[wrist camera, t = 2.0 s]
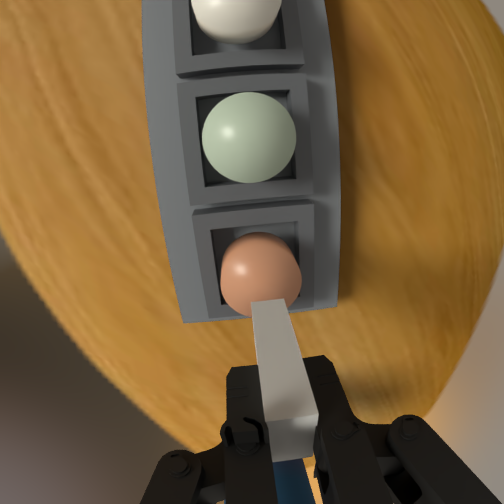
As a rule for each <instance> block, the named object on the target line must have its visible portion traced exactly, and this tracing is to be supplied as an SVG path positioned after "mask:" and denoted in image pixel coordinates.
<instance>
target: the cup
mask: <svg viewBox="0 0 504 504" xmlns="http://www.w3.org/2000/svg"><path fill="white" fill-rule="evenodd" d="M272 463H273V470H274V477H275V484H276V491H277V498H278V504H316V503H315V500H314V496H313V493H312V489H311V486H310V483H309V479H308V476H307V472H306V469H305V465H304V462H303V459H302V458H300V459H293V460H286V461H279V462H272ZM224 504H226V500H224Z"/></svg>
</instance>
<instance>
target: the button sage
mask: <svg viewBox="0 0 504 504" xmlns="http://www.w3.org/2000/svg"><path fill="white" fill-rule="evenodd" d="M202 143H203V149H204V152H205V155H206V157H207V159H208V160H209V162H210V164H211V165H212V166H213V167H214V168H215V169H216V170H217V171H218V172H219V173H220V174H222V175H223V176H225V177H227V178H229V179H231V180H234V181H237V182H242V183H256V182H261V181H265V180H267V179H269V178H272V177H273V176H275V175H277V174H278V173H279V172H280V171H282V170H283V169H284V168H285V166H286V165H287V164H288V163H289V161H290V159H291V157H292V155H293V153H294V150H295V145H296V130H295V125H294V122H293V120H292V118H291V116H290V114H289V113H288V111H287V110H286V109H285V107H284V106H282V105H281V104H280V103H279V102H278V101H276V100H275V99H273V98H271V97H269V96H267V95H264V94H260V93H255V92H244V93H238V94H234V95H232V96H229V97H227V98H225V99H224V100H222V101H221V102H219V103H218V104H217V105H216V106H215V107H214V108H213V109H212V111H211V112H210V113H209V115H208V117H207V118H206V121H205V123H204V127H203V132H202Z"/></svg>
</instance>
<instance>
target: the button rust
mask: <svg viewBox="0 0 504 504" xmlns="http://www.w3.org/2000/svg"><path fill="white" fill-rule="evenodd" d="M301 284H302V277H301V272H300V269H299V266H298V264H297V262H296V260H295V258H294V256H293V254H292V252H291V250H290V248H289V246H288V245H287V244H286V243H285V242H284V241H283V240H282V239H281V238H279V237H278V236H276V235H273V234H271V233H267V232H251V233H248V234H245V235H242V236H240V237H239V238H237V239H236V240H234V241H233V242H232V243H231V244H230V245H229V246H228V248H227V249H226V251H225V253H224V256H223V259H222V268H221V291H222V294H223V297H224V299H225V301H226V302H227V303H228V305H229V306H230V307H231V308H232V309H234V310H235V311H236V312H238V313H240V314H242V315H245V316H248V317H252V309H251V302H256V301H266V300H275V299H283V298H284V300H285V304H286V307H287V308H288V307H289V306H290V305H291V304H292V303H293V302H294V301H295V299H296V298H297V296H298V294H299V292H300V289H301Z"/></svg>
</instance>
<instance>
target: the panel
mask: <svg viewBox="0 0 504 504" xmlns="http://www.w3.org/2000/svg"><path fill="white" fill-rule="evenodd" d="M142 46H143V67H144V83H145V96H146V108H147V118H148V128H149V137H150V146H151V154H152V161H153V169H154V176H155V183H156V189H157V196H158V202H159V208H160V214H161V220H162V225H163V231H164V236H165V242H166V247H167V252H168V257H169V262H170V267H171V272H172V276H173V281H174V285H175V290H176V294H177V299H178V303H179V307H180V311H181V315H182V319H183V323H196V322H209V321H220V320H232V319H242V318H252V317H248V316H245V315H242V314H240V313H238V312H236V311H235V310H234V309H232V308H231V307H230V306H229V305H228V303H227V302H226V301H225V299H224V297H223V294H222V291H221V268H222V259H223V256H224V253H225V251H226V249H227V248H228V246H229V245H230V244H231V243H232V242H233V241H234V240H236V239H237V238H239V237H240V236H242V235H245V234H248V233H251V232H267V233H271V234H273V235H276V236H278V237H279V238H281V239H282V240H283V241H284V242H285V243H286V244H287V245H288V246H289V248H290V250H291V252H292V254H293V256H294V258H295V260H296V262H297V264H298V266H299V269H300V272H301V277H302V284H301V289H300V292H299V294H298V296H297V298H296V299H295V301H294V302H293V303H292V304H291V305H290V306H289V307H288V308H287V310H288V313H295V312H303V311H310V310H317V309H324V308H331V307H337V298H338V282H339V261H340V225H341V184H340V148H339V128H338V112H337V99H336V87H335V77H334V67H333V59H332V50H331V43H330V35H329V28H328V22H327V15H326V9H325V3H324V0H282V2H281V6H280V9H279V11H278V14H277V16H276V18H275V21H274V23H273V25H272V27H271V28H270V30H269V31H268V32H267V33H266V34H265V35H263V36H262V37H260V38H259V39H257V40H255V41H252V42H249V43H245V44H225V43H221V42H218V41H216V40H213V39H212V38H210V37H208V36H207V35H206V34H205V33H204V32H203V31H202V30H201V29H200V27H199V25H198V23H197V20H196V16H195V13H194V10H193V7H192V3H191V0H142ZM244 92H255V93H260V94H264V95H267V96H269V97H271V98H273V99H275V100H276V101H278V102H279V103H280V104H281V105H282V106H284V107H285V109H286V110H287V111H288V113H289V114H290V116H291V118H292V120H293V122H294V125H295V130H296V145H295V150H294V153H293V155H292V157H291V159H290V161H289V163H288V164H287V165H286V166H285V168H284V169H283V170H282V171H280V172H279V173H278V174H277V175H275V176H273V177H272V178H269V179H267V180H265V181H261V182H256V183H242V182H237V181H234V180H231V179H229V178H227V177H225V176H223V175H222V174H220V173H219V172H218V171H217V170H216V169H215V168H214V167H213V166H212V165H211V164H210V162H209V160H208V159H207V157H206V155H205V152H204V149H203V143H202V132H203V127H204V123H205V121H206V118H207V117H208V115H209V113H210V112H211V111H212V109H213V108H214V107H215V106H216V105H217V104H218V103H219V102H221V101H222V100H224V99H225V98H227V97H229V96H232V95H234V94H238V93H244Z"/></svg>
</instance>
